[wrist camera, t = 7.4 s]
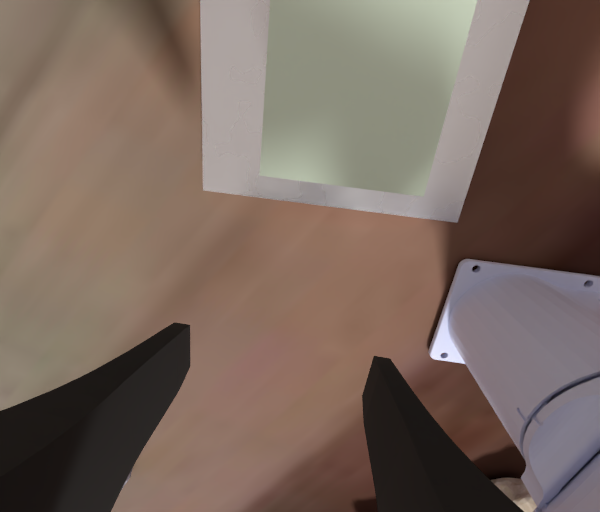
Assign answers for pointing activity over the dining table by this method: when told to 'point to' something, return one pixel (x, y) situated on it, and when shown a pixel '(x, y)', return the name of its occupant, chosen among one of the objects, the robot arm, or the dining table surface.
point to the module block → (360, 89)
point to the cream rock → (516, 492)
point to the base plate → (247, 181)
